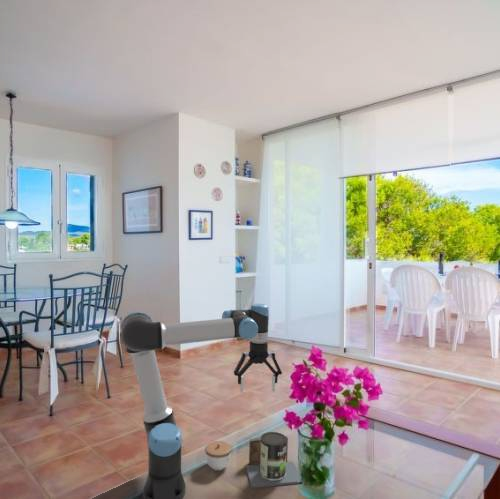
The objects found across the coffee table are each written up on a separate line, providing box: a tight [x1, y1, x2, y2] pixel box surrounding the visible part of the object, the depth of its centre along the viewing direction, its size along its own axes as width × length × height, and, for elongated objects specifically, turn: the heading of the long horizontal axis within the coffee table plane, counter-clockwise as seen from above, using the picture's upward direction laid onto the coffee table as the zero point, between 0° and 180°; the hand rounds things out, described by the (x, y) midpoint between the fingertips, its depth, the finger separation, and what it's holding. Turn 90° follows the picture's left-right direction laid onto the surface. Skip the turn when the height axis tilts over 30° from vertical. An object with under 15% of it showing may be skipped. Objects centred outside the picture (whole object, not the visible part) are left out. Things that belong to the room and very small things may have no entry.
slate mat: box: [245, 461, 299, 489], centre depth 158 cm, size 20×13×1 cm, turn 101°
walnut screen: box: [248, 435, 289, 465], centre depth 166 cm, size 16×2×10 cm, turn 101°
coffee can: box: [260, 431, 287, 481], centre depth 157 cm, size 10×10×14 cm
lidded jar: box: [204, 440, 233, 472], centre depth 163 cm, size 11×11×9 cm
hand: (257, 391), depth 168 cm, fingers open, 13 cm apart
